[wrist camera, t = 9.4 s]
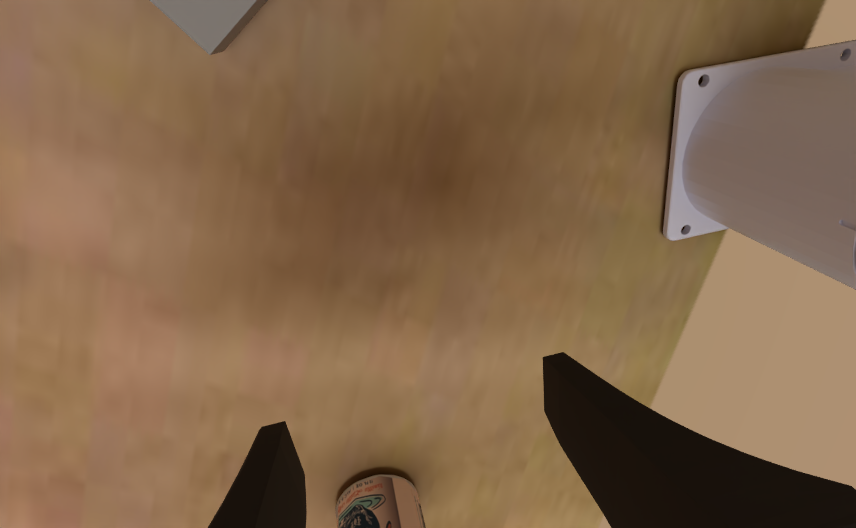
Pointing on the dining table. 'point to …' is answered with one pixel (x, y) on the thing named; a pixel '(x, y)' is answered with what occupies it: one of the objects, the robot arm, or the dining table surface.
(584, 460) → the robot arm
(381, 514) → the beer can
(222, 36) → the socket
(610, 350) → the dining table surface
